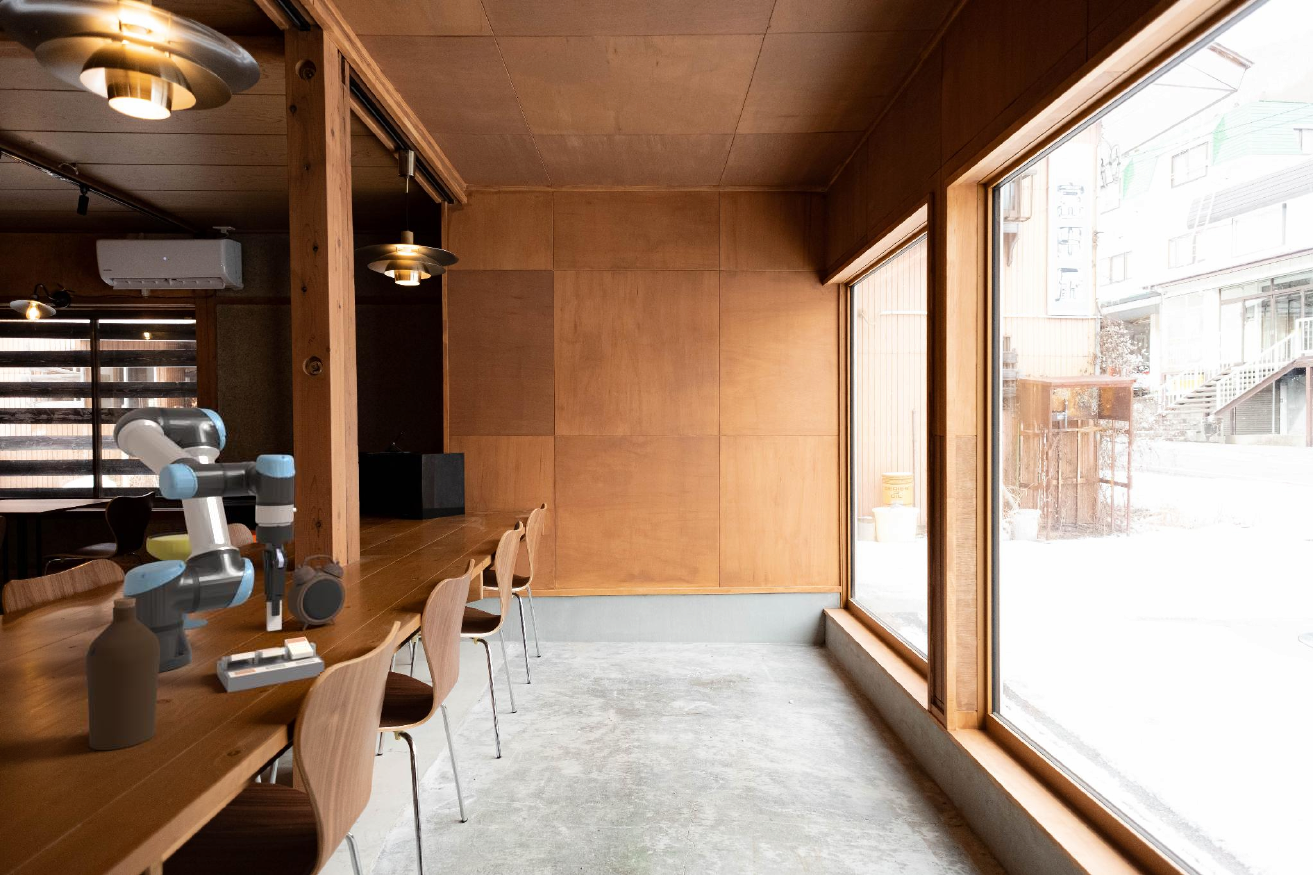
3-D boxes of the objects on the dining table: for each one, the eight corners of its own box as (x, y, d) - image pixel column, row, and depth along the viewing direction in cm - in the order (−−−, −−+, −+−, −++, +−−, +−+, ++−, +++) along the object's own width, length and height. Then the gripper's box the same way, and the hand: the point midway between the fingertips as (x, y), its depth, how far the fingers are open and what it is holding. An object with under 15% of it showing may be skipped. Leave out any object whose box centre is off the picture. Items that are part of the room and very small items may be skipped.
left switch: (231, 660, 157) (231, 654, 157) (225, 662, 162) (225, 656, 163) (254, 657, 159) (254, 651, 160) (248, 659, 165) (247, 653, 165)
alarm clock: (297, 634, 196) (299, 560, 196) (284, 629, 200) (286, 557, 200) (348, 623, 208) (350, 553, 207) (335, 619, 212) (336, 550, 212)
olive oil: (136, 751, 124) (138, 606, 124) (69, 753, 123) (71, 606, 123) (171, 726, 135) (173, 592, 135) (110, 727, 134) (112, 592, 134)
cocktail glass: (237, 620, 209) (238, 533, 209) (181, 636, 191) (182, 542, 191) (187, 614, 214) (189, 529, 214) (128, 630, 196) (129, 538, 196)
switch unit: (227, 692, 153) (228, 667, 153) (216, 674, 163) (217, 651, 163) (324, 674, 165) (324, 651, 165) (307, 659, 175) (308, 637, 175)
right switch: (292, 659, 164) (292, 654, 164) (284, 644, 170) (284, 639, 170) (313, 655, 167) (313, 650, 167) (304, 641, 173) (305, 636, 173)
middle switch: (262, 657, 160) (262, 651, 161) (255, 656, 166) (255, 650, 166) (284, 653, 163) (284, 648, 163) (277, 652, 169) (276, 647, 169)
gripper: (300, 525, 160) (299, 632, 160) (286, 520, 170) (285, 621, 170) (262, 528, 155) (261, 638, 155) (250, 522, 165) (249, 626, 165)
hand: (274, 629), depth 162 cm, fingers closed
